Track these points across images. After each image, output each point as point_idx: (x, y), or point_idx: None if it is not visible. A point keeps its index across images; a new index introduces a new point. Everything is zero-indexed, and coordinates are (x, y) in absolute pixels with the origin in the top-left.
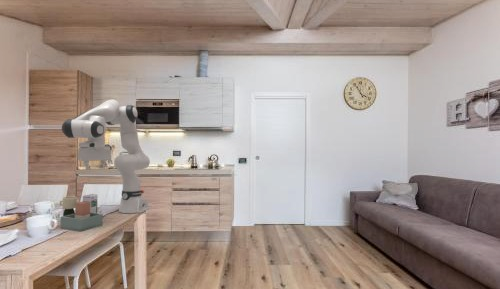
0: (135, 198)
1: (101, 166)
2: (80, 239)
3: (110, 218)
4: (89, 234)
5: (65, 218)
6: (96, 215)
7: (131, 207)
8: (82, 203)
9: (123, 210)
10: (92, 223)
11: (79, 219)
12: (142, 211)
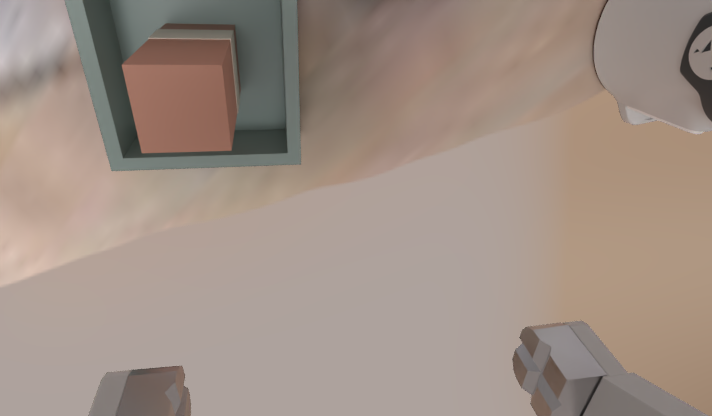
0: (702, 118)
1: (534, 394)
2: (52, 243)
3: (444, 56)
4: (130, 216)
5: (71, 15)
6: (251, 159)
7: (633, 85)
8: (148, 142)
9: (613, 27)
10: None
11: (108, 156)
12: (637, 123)
